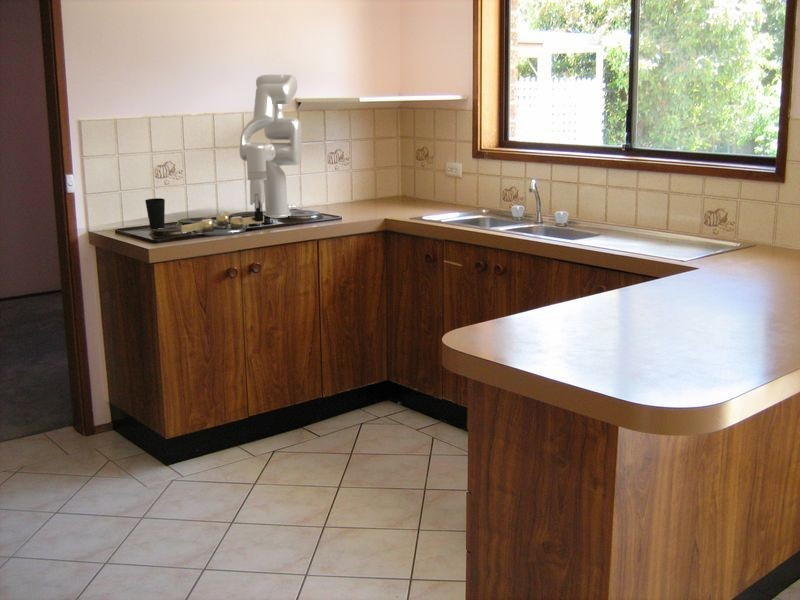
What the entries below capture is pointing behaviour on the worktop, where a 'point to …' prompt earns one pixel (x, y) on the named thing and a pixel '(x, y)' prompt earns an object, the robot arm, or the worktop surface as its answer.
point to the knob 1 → (223, 218)
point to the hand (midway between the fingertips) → (259, 221)
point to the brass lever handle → (242, 221)
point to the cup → (156, 212)
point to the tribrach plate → (222, 230)
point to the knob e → (198, 226)
